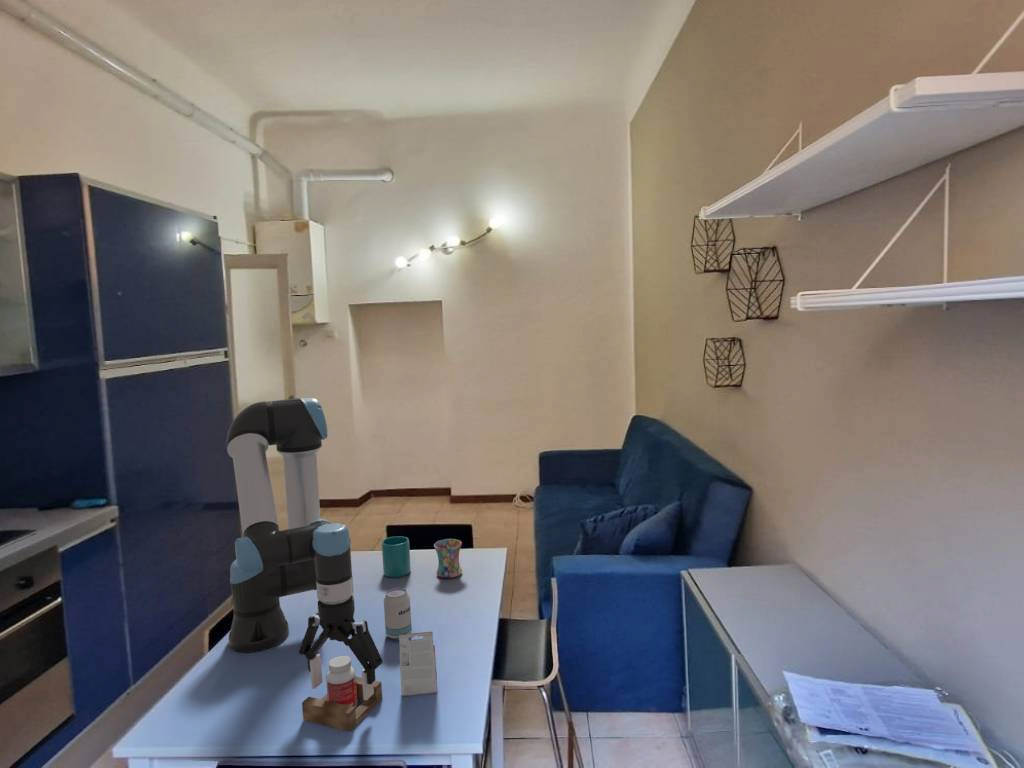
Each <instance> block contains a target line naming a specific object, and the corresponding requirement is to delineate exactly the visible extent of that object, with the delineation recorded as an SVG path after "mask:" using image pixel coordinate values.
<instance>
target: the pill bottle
mask: <svg viewBox="0 0 1024 768" xmlns="http://www.w3.org/2000/svg"><path fill="white" fill-rule="evenodd" d="M356 677H357V675H356V670H355V668H354V667H353V666H352V658H351V657H350V656H348V655H340V656H339V655H338V656H336V657H333V658H331V659H330V660H329V662H328V671H327V674H326V676H325V680H326V691H327V692H326V694H327V696H328V701H330V702H334V703H339V704H343V705H347V706H352V707H355V710H356V709H357V708H358V700H357V688H356Z"/></svg>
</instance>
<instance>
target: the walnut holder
mask: <svg viewBox="0 0 1024 768" xmlns="http://www.w3.org/2000/svg"><path fill="white" fill-rule="evenodd" d="M356 688H357V701H360V702H361V704H360V705H359V706H357V708H356V710H355V707H352V706H347V705H343V704H339V703H334V702H330V701H328V696H327V693H326V694H325V695H324V696H323V697H322V698H317V697H312V696H308V697H307V698H305V699H304V700H303V701H302V702H301V706H302V707H301V708H302V720H303V721H305V722H310V723H314V724H318V725H321V726H325V727H329V728H334V729H338V730H341V731H345V732H348V733H349V732H351V731H353V729H354V728H356V727H357V726H358V724H359V723H360V722H361V721H362V720H364V718H365V717H366V716H367V715H368V714H369V713H370V712H371V711H372V710H373V709H374V708H375V706H377V705H378V704H379V703H380V702H381V701H382V700H383V689H382V681H379V680H375V681H374V682H373V689H374V694H373V695H372V696H371V697H370V698H369V699H368V700H367V701H366V700H363V686H362V676H361V677H360V676H356Z"/></svg>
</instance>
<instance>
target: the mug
mask: <svg viewBox="0 0 1024 768" xmlns="http://www.w3.org/2000/svg"><path fill="white" fill-rule="evenodd" d="M462 545H463V542H462V540H459V539H455V538H445V539H440V540H437V541H436V542H435V543H434V544H433V547H434V549H435V552H436V554H437V557H438V558H437V559H438V566H437V570H436V575H437V577H439V578H444V579H451V578H456V577H459V576H460V575H461V574H462V572H463V570H462V568H461V565H460V558H459V557H460V551H461V548H462Z"/></svg>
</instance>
